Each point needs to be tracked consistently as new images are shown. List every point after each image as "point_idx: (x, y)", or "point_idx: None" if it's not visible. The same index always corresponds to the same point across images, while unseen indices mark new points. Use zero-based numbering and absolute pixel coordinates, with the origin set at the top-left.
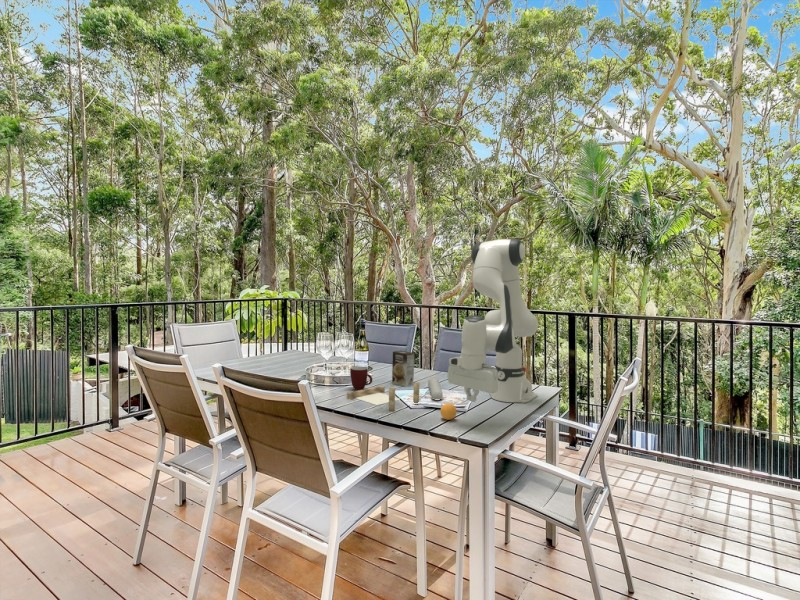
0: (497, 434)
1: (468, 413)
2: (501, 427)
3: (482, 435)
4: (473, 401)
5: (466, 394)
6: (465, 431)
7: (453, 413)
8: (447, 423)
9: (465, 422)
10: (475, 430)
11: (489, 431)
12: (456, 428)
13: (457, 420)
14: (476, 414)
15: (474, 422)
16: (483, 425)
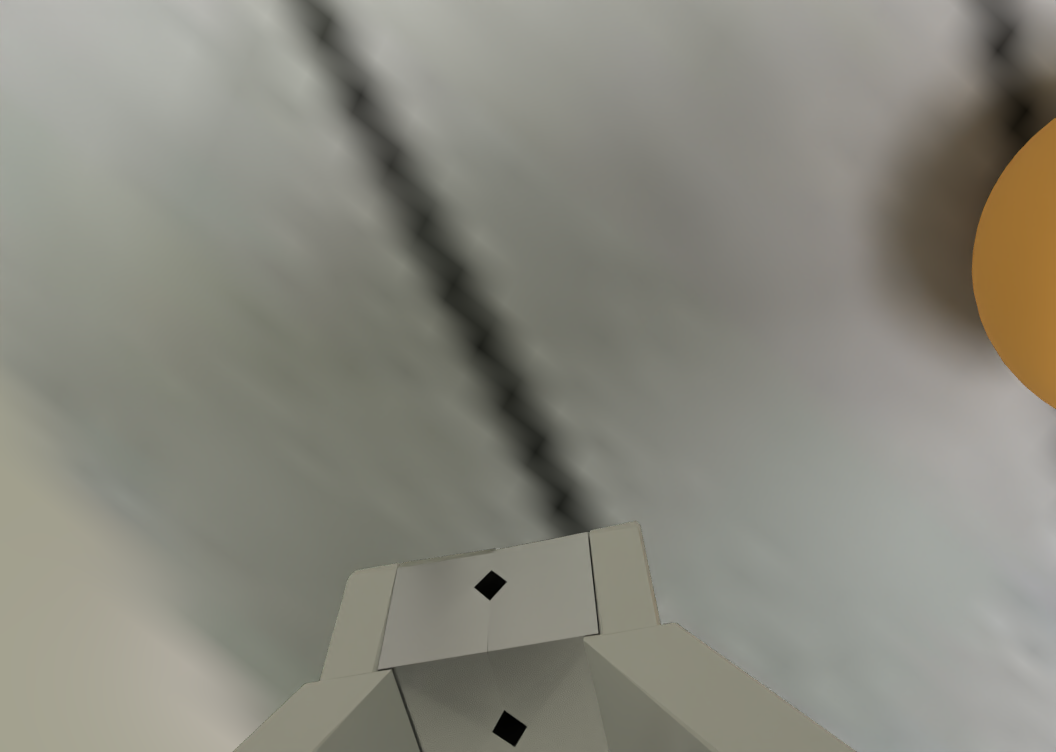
0: (32, 435)
1: (1048, 685)
2: (285, 672)
3: (64, 191)
4: (362, 578)
5: (682, 639)
6: (366, 52)
7: (993, 257)
8: (918, 40)
9: (754, 376)
10: (334, 256)
11: (199, 422)
12: (588, 5)
13: (919, 325)
14: (932, 745)
15: (668, 499)
16: (479, 523)
